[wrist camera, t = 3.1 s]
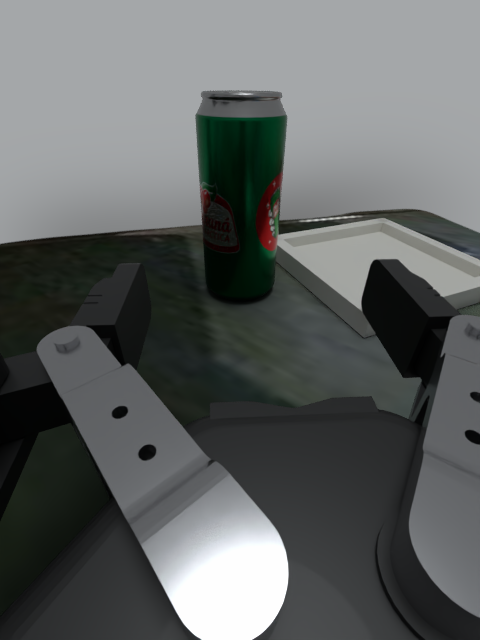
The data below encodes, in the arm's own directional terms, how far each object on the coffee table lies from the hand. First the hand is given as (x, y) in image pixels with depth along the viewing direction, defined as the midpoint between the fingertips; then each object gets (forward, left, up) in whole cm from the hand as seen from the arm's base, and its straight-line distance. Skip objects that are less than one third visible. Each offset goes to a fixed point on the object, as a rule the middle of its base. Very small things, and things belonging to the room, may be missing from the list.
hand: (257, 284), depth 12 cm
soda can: (+4, +10, -7) cm, 13 cm away
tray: (+15, +8, -7) cm, 18 cm away
